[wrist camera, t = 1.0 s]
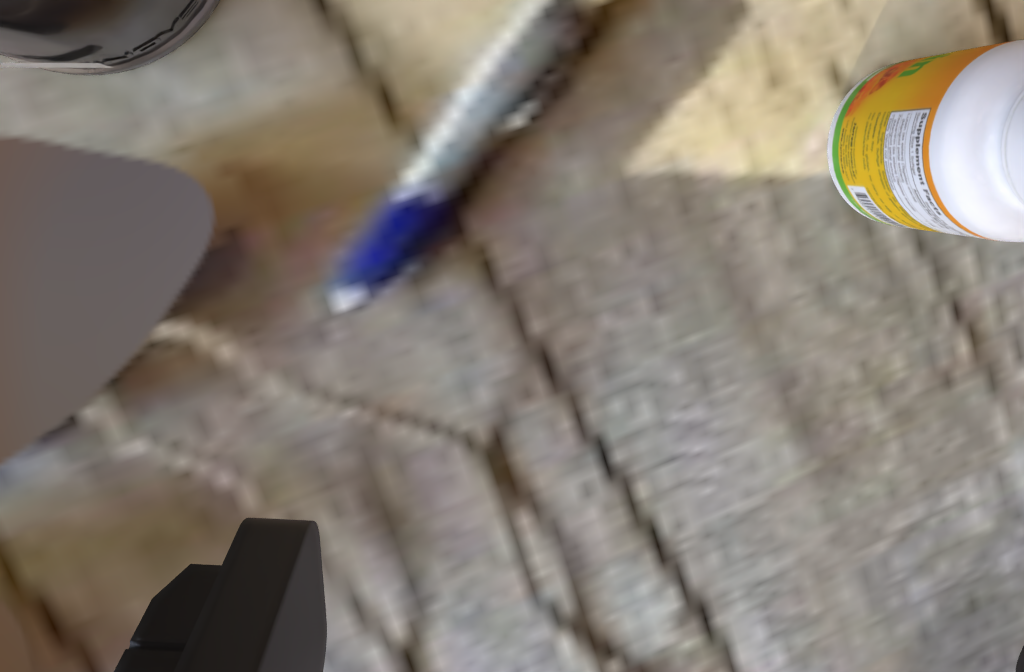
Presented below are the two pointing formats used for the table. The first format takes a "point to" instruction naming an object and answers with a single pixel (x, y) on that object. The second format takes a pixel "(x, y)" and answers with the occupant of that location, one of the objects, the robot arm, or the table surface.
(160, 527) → the table surface
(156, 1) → the robot arm
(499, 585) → the table surface
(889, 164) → the supplement bottle
